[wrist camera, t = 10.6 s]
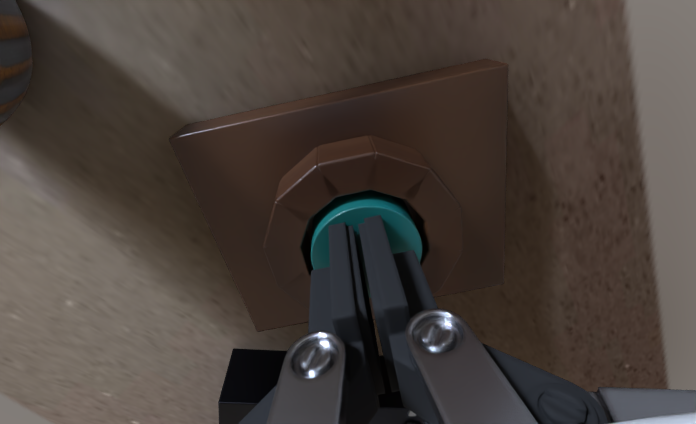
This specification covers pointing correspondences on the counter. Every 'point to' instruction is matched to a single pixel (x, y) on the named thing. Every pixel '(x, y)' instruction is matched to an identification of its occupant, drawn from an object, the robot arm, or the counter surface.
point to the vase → (13, 58)
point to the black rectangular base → (262, 376)
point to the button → (354, 212)
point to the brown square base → (356, 179)
